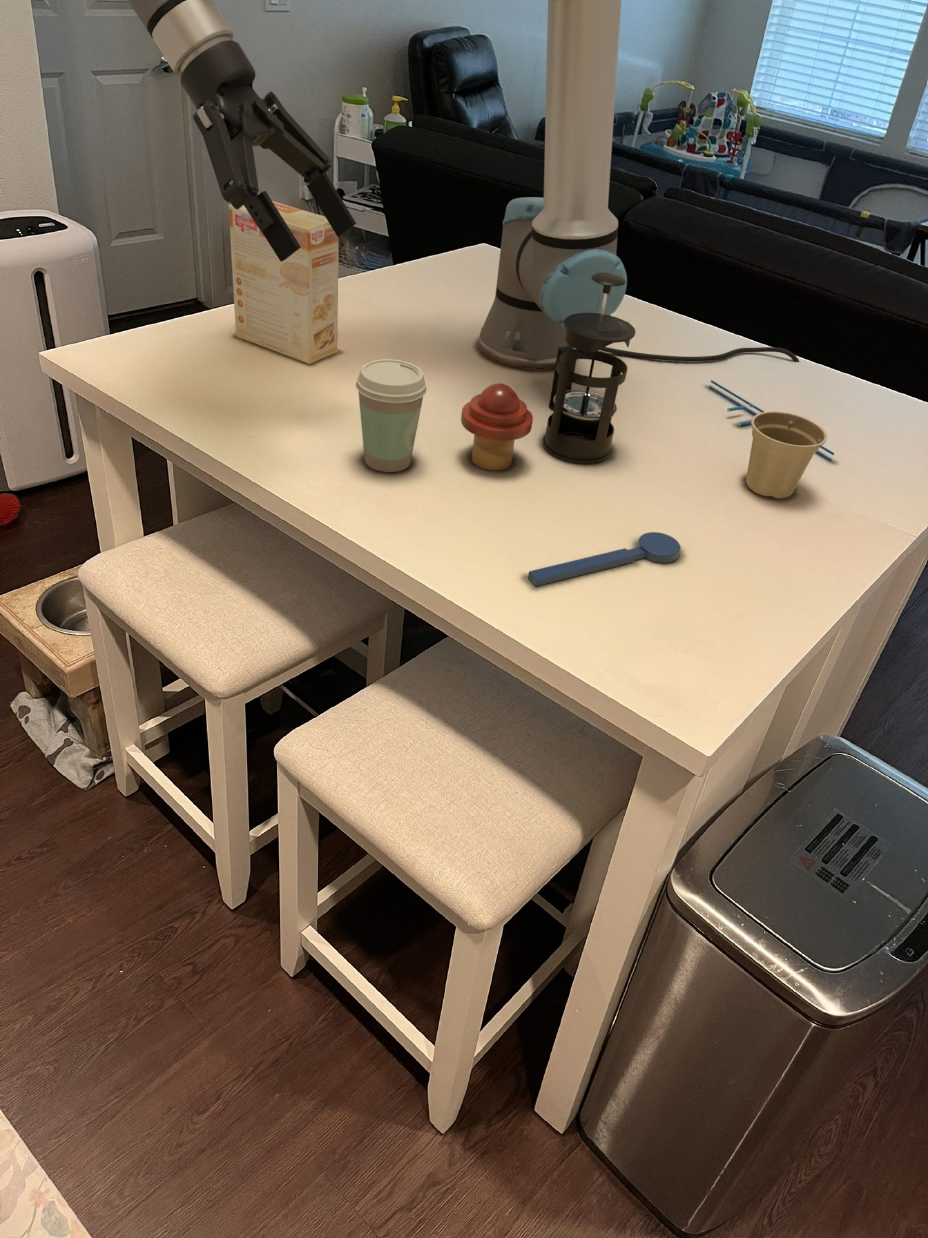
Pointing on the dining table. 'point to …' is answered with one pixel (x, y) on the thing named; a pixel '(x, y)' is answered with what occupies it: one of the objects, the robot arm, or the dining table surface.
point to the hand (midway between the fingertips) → (320, 242)
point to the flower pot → (781, 451)
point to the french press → (586, 384)
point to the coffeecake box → (286, 285)
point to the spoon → (611, 559)
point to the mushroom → (496, 425)
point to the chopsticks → (752, 412)
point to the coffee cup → (389, 412)
